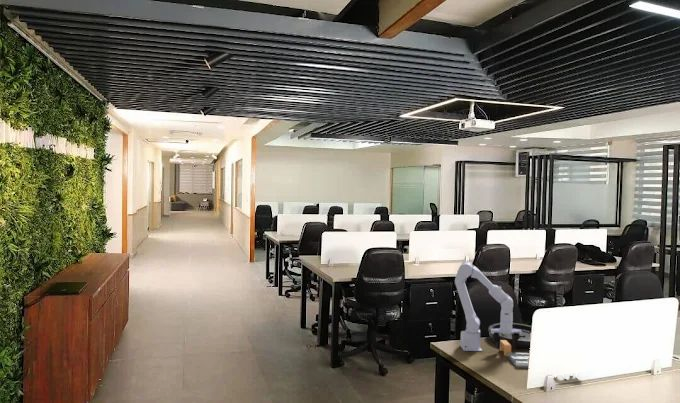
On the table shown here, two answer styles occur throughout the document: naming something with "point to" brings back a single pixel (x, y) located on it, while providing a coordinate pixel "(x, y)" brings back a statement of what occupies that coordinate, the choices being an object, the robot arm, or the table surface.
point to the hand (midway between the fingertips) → (505, 347)
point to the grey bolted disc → (522, 342)
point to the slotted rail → (518, 359)
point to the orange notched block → (505, 347)
